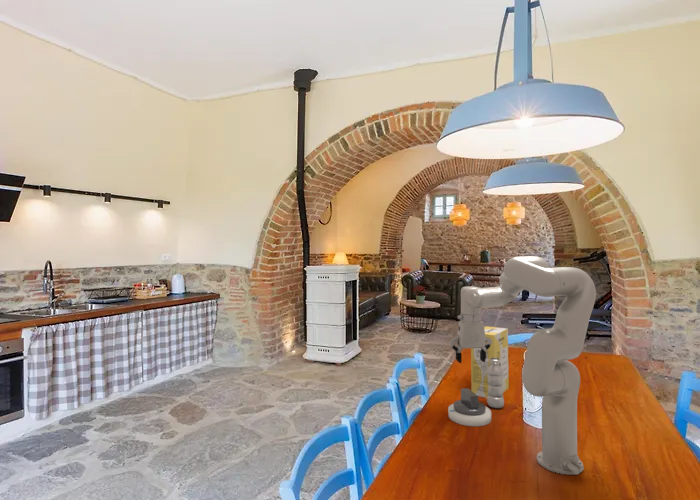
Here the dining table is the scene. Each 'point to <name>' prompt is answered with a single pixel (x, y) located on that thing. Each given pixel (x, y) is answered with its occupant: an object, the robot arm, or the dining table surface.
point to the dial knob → (469, 403)
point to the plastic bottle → (495, 384)
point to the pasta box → (480, 368)
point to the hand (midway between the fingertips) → (470, 361)
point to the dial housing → (469, 417)
